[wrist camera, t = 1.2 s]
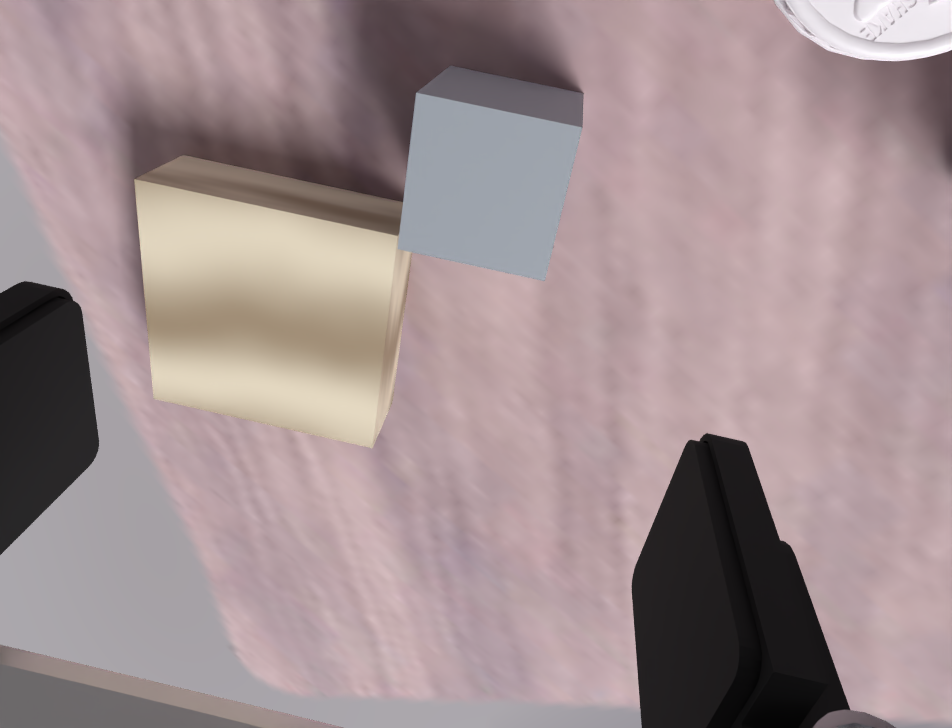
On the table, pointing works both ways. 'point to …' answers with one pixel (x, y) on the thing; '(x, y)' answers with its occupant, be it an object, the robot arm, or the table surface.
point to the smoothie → (874, 26)
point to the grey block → (489, 170)
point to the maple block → (272, 297)
